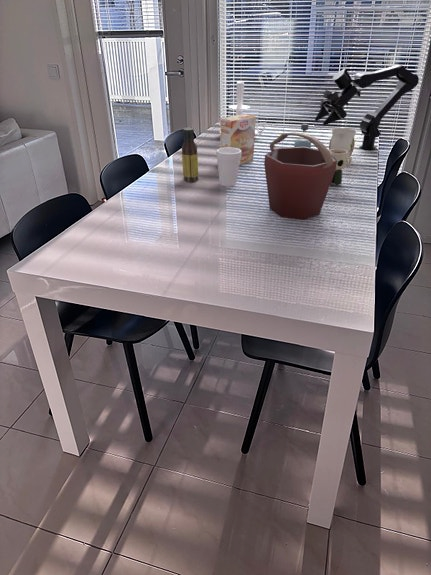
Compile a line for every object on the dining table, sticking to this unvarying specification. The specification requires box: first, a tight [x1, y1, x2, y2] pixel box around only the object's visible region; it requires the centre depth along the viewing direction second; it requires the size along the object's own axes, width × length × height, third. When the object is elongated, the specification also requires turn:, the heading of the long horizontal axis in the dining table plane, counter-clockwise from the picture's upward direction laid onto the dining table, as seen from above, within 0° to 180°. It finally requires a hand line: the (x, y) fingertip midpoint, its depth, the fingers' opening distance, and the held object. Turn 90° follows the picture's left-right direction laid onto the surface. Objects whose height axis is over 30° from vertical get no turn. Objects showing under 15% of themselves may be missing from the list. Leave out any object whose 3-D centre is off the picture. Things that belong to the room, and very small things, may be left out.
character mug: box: [328, 149, 353, 186], centre depth 168 cm, size 11×7×13 cm, turn 73°
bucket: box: [263, 132, 337, 221], centre depth 142 cm, size 24×22×25 cm
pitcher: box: [328, 127, 357, 162], centre depth 196 cm, size 11×18×14 cm, turn 160°
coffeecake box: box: [219, 113, 257, 166], centre depth 189 cm, size 15×7×20 cm, turn 131°
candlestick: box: [218, 80, 267, 137], centre depth 224 cm, size 21×25×28 cm
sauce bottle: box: [181, 127, 199, 183], centre depth 169 cm, size 6×6×20 cm
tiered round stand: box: [293, 138, 312, 148], centre depth 209 cm, size 13×13×6 cm
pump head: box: [300, 123, 309, 133], centre depth 204 cm, size 3×3×3 cm
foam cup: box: [216, 147, 241, 188], centre depth 167 cm, size 10×9×13 cm
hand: (319, 122), depth 204 cm, fingers open, 9 cm apart
